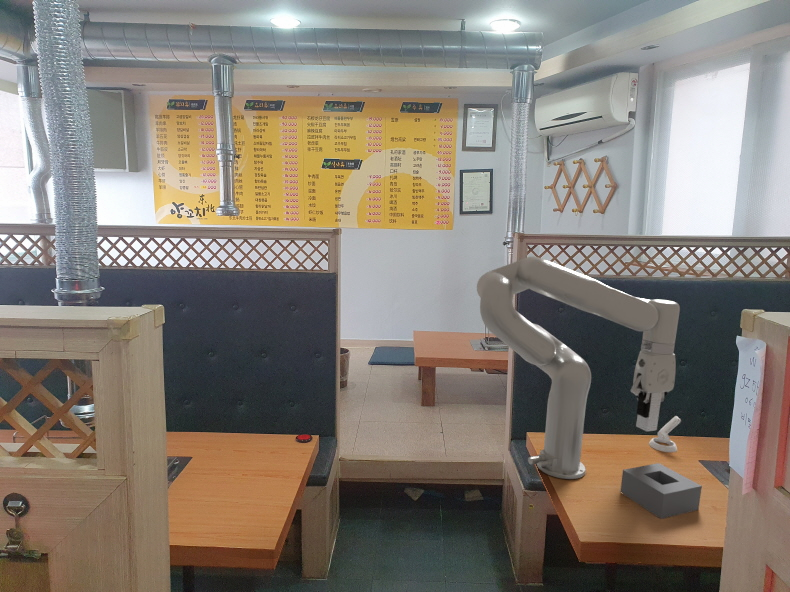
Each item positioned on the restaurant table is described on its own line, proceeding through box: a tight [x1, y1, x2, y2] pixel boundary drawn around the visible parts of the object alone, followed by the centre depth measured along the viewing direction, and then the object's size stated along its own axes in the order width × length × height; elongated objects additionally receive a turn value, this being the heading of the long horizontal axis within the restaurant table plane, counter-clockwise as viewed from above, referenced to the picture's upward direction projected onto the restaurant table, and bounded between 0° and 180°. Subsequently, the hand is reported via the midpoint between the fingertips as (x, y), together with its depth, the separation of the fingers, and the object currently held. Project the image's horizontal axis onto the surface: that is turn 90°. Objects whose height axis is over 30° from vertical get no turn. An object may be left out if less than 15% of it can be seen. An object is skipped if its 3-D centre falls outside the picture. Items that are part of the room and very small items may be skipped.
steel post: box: [635, 392, 662, 432], centre depth 137 cm, size 4×4×13 cm
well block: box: [619, 462, 703, 520], centre depth 125 cm, size 12×12×6 cm
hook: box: [648, 415, 682, 453], centre depth 156 cm, size 8×12×7 cm
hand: (648, 414), depth 137 cm, fingers closed on steel post, 3 cm apart
